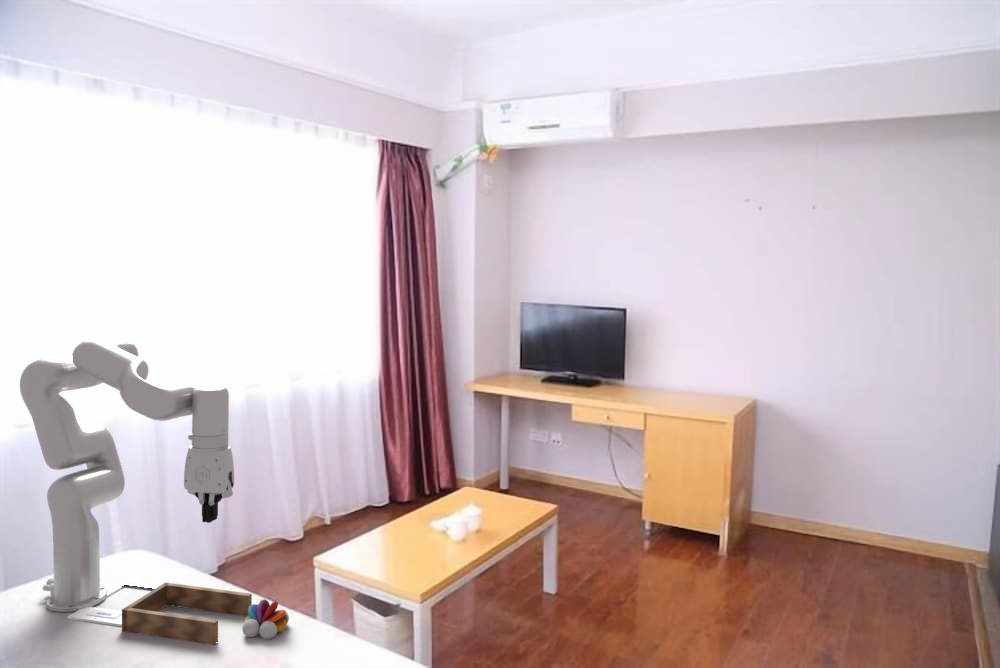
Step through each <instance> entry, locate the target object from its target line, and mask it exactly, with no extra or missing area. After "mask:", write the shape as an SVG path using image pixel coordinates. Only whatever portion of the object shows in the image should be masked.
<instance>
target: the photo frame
mask: <svg viewBox="0 0 1000 668" xmlns="http://www.w3.org/2000/svg"><path fill="white" fill-rule="evenodd" d="M124 585H129V586H128V587H132V586H137V587H136V588H140V587H144V588H143V589H147V588H152V589H151V590H154V589H156V588H157V587H156V586H155V587H154V586H146V585H140V584H139V585H138V584H130V583H123V584H122V585H120V586H118V587H116V588H114V589H112V590H111V591H109V592H107V596H106V598H105V599H107V598H109V597H110V596H112V595H114V594H116V593H117V592H119V591H120V589H121V588H122V589H123V587H125V586H124ZM122 586H123V587H122ZM122 589H121V590H122ZM118 590H119V591H118ZM116 591H117V592H116ZM113 593H114V594H113ZM111 594H112V595H111ZM108 596H109V597H108ZM66 619H67V620H73V621H79V622H80V621H81V622H87V623H95V624H103V625H107V626H115V627H121V628H122V610H116V609H109V608H102V607H95V606H92V607H86V608H83V609H80V610H78V611H74V612H73V613H71V614H69V615H67V618H66Z"/></svg>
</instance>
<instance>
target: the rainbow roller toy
mask: <svg viewBox="0 0 1000 668" xmlns="http://www.w3.org/2000/svg"><path fill="white" fill-rule="evenodd" d="M278 607H279V602H278V601H277V600H276V601H275V600H274V601H273V602H272V603H270V602H269V601H268V599H260V601H259V603H258V604H256V603H253V604H252V605H251V606H250V607H249V609H248V614H249V616H245V617H246V618H244V623H243V624H242V633H243V635H244V636H246V637H248V638H255V637H256V636H258V635H260V637H261V638H263V639H265V640H271V639H273V638H275V636H276V635H277V634H278V632H283V631H285V629H286V628H287V625H288V622H289V619H290V617H289V614H288V612H287V611H286V610H285V609H277V608H278Z"/></svg>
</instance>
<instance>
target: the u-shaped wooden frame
mask: <svg viewBox="0 0 1000 668" xmlns="http://www.w3.org/2000/svg"><path fill="white" fill-rule="evenodd" d="M155 588H156V589H152V590H151V591H149V592H148V593H146V594H145V595H143V596H142V597H140V598H138V599H136V600H135V601H134V602H132V603H130V604H129V605H127V606H125V607H123V608H122V609H121V611H122V627H121V632H125V633H131V634H132V633H133V634H140V635H144V636H152V637H159V638H164V639H165V638H166V639H173V640H178V641H184V642H191V643H200V644H205V643H207V644H206V645H211V644H215V643H216V642H218V643H219V620H217V619H212V618H205V617H199V616H198V617H197V616H190V615H183V614H177V613H176V614H175V613H170V612H162V611H161V610H162V609H163V608H165V607H166V606H169V605H174V606H173V607H177V606H180V607H179V608H184V607H185V608H186V609H192V610H200V611H206V612H213V613H220V614H221V613H222V614H228V615H229V614H230V615H236V616H243V617H248V616H249V614H248V609H249V607H250V606H251V605H253V604H252V601H253V599H252V595H253V594H252V593H249V592H241V591H233V590H227V589H226V590H225V589H217V588H211V587H202V586H194V585H187V584H182V583H181V584H179V583H173V582H172V583H171V582H164V583H161V585H159V586H157V587H155ZM165 605H166V606H165ZM164 606H165V607H164ZM162 607H163V608H162ZM161 608H162V609H161ZM185 608H184V609H185ZM158 610H159V611H158ZM215 645H216V644H215Z"/></svg>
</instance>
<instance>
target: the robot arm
mask: <svg viewBox="0 0 1000 668" xmlns="http://www.w3.org/2000/svg"><path fill="white" fill-rule="evenodd" d="M148 375H149V365H148V363H147V362H146V361H145V360H144V359H143V358H140V357H139V352H138V348H137V347H136V345H135V343H133V342H132V341H131V340H129V339H127V338H125V337H120V336H119V337H117V336H115V337H103V338H93V339H92V338H91V339H88V340H85V341H82V342H80V343H79V344H77V346H75V348H74V349H73V352H72V354H69V355H58V356H50V357H45V358H41V359H37V360H35V361H33V362H31V363H30V364H28V365H27V366H26V367H25V368H24V369H23V371H22V373H21V376H20V379H19V390H20V391H19V392H20V395H21V398H22V400H23V403H24V404H25V406H26V408H27V410H28V412H29V414H30V416H31V419H32V421H33V425H34V429H35V431H36V432H35V433H36V436H37V439H38V443H39V446H40V450H41V453H42V456H43V460H44V462H45V465H47V466H48V467H49V468H50V469H52V470H55V471H58V470H59V471H62V470H66V469H71V468H74V467H78V466H81V465H85V466H86V469H82V470H77V471H75V472H72V473H68V474H65V475H63V476H61V477H59V478H57V479H56V480H54V481H53V482H52V483H51V484H50V486H49V487H48V490H47V493H46V500H47V504H48V508H49V512H50V517H51V524H52V525H51V526H52V543H53V545H52V546H53V548H52V549H53V578H48V580H47V581H46V584H44V585H43V586H42V591H44V592H45V591H46V592H50V596H49V597H48V598H47V600H46V605H45V606H46V608H47V609H48V610H49V611H52V612H56V613H69V612H76V611H78V610H80V609H83V608H86V607H95V606H96V605H99V604H100V603H102V602H103V601H105V599H107V598H106V596H107V593H108V589H107V588H106V586H105V587H104V586H102V585H101V583H100V582H101V578H100V577H101V576H100V575H101V574H100V573H101V569H100V568H101V567H100V566H101V565H100V563H101V562H100V527H99V526H100V525H99V523H98V520H97V519H96V517H95V516H94V514H93V513H92V509H93V508H96V507H97V506H98V507H99V506H101V505H104V504H106V503H109V502H111V501H113V500H116V499H118V497H120V496H121V495H122V494H123V492H124V489H125V484H126V483H125V480H126V479H125V475H124V471H123V468H122V464H121V460H120V458H119V453H118V450H117V448H116V447H117V446H116V444H115V439H114V438H113V436H112V434H111V432H110V430H108V429H107V428H106V427H105V426H104V425H101V424H99V423H87V424H82V425H79V423H78V420H77V418H76V413H75V410H74V409H73V406H72V405H71V404H70V403H69V401H68V400H67V399H66V398H64V397H63V396H62V395H60V393H61V392H65V391H66V392H67V391H72V390H73V391H74V390H79V389H86V388H91V387H95V386H97V385H98V386H99V385H101V384H106V385H108V386H110V387H111V388H113V389H115V390H118V391H119V394H120V397H121V399H122V401H123V402H124V403H125V405H126V406H127V407H128V408H129V409H131V410H132V411H134V412H136V413H138V414H140V415H142V416H144V417H146V418H149V419H151V420H154V421H160V422H163V421H170V420H173V419H178V418H181V417H188V416H190V415H191V416H192V417H191V420H192V421H191V422H192V423H191V431H192V432H191V434H188V437H187V439H188V440H189V441H191V445H190V446H188V448H187V449H188V450H187V453H186V458H185V463H184V471H183V486H184V489H185V490H186V491H187V493H188V494H189V495H192V496H195V497H196V498H197V500H198V502H199V504H200V505H201V516H202V521H201V522H202V523H207V524H208V523H209V524H210V523H212V522H214V521H216V520H217V519H218V515H219V503H220V502H221V500H223V499H226V498H231V497H232V496H234V493H233V488H234V485H235V468H234V467H235V465H234V459H233V458H234V457H233V452H232V447H231V446H230V445H229V422H230V421H229V414H230V413H229V407H230V406H229V405H230V404H229V401H230V400H229V399H230V397H229V396H230V395H229V393H230V392H229V390H228V389H227V388H226V387H225V386H221V385H206V384H202V383H199V382H195V381H186V382H185V381H184V382H181V383H175V384H168V385H163V386H159V385H156V384H154V383H151V382H150V381H147V378H148Z"/></svg>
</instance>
